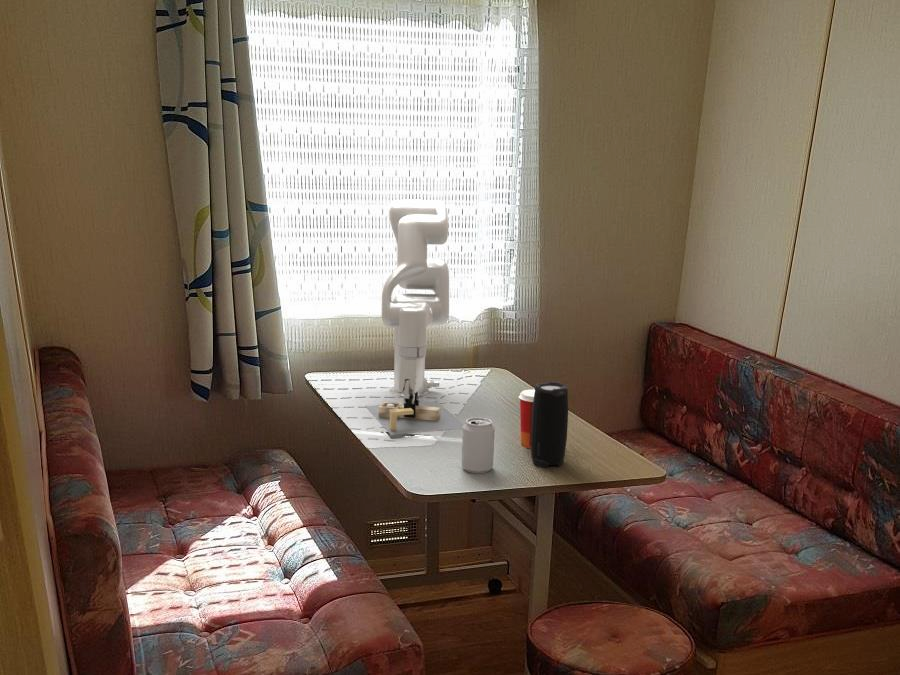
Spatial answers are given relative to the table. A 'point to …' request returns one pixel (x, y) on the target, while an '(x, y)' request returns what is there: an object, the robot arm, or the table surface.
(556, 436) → the portable speaker
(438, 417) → the wooden link
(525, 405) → the paper cup
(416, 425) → the slate base
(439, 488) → the table surface
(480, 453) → the can
